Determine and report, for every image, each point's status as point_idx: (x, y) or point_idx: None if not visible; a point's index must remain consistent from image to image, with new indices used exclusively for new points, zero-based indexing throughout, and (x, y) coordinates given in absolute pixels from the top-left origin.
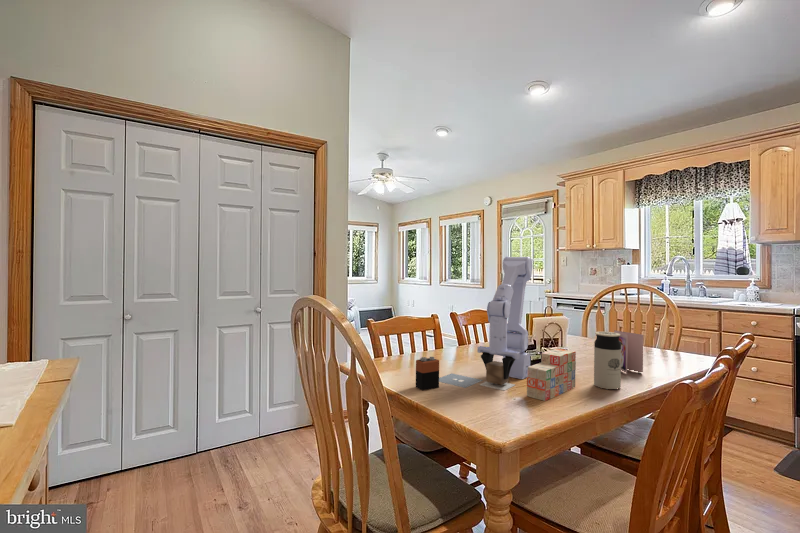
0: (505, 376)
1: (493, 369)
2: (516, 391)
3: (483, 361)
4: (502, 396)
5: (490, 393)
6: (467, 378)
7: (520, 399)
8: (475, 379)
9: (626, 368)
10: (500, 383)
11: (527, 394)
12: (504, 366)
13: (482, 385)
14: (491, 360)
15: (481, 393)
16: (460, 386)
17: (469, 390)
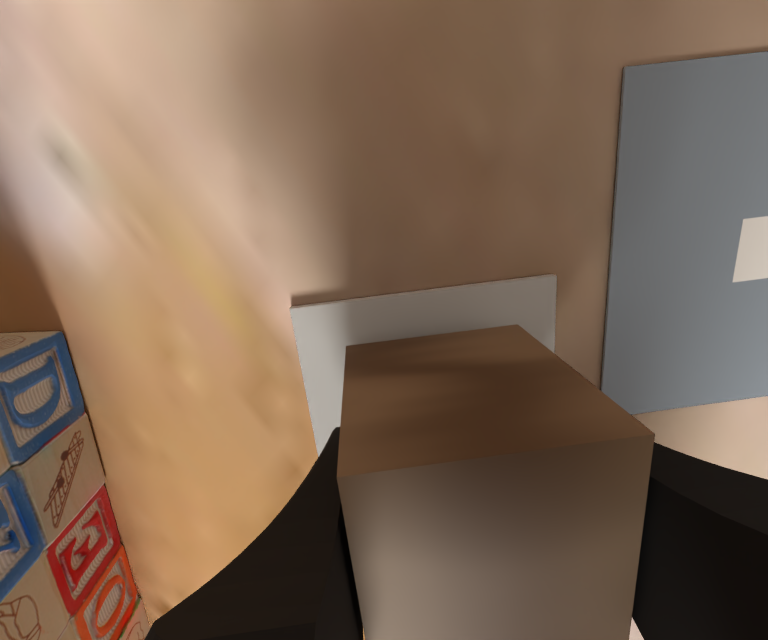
0: (327, 441)
1: (479, 411)
2: (218, 378)
3: (752, 478)
4: (192, 139)
5: (333, 128)
6: (735, 356)
7: (22, 199)
8: (662, 384)
9: None
10: (355, 349)
11: (43, 337)
12: (314, 526)
13: (524, 278)
14: (656, 615)
15: (396, 45)
16: (687, 67)
17: (548, 32)
